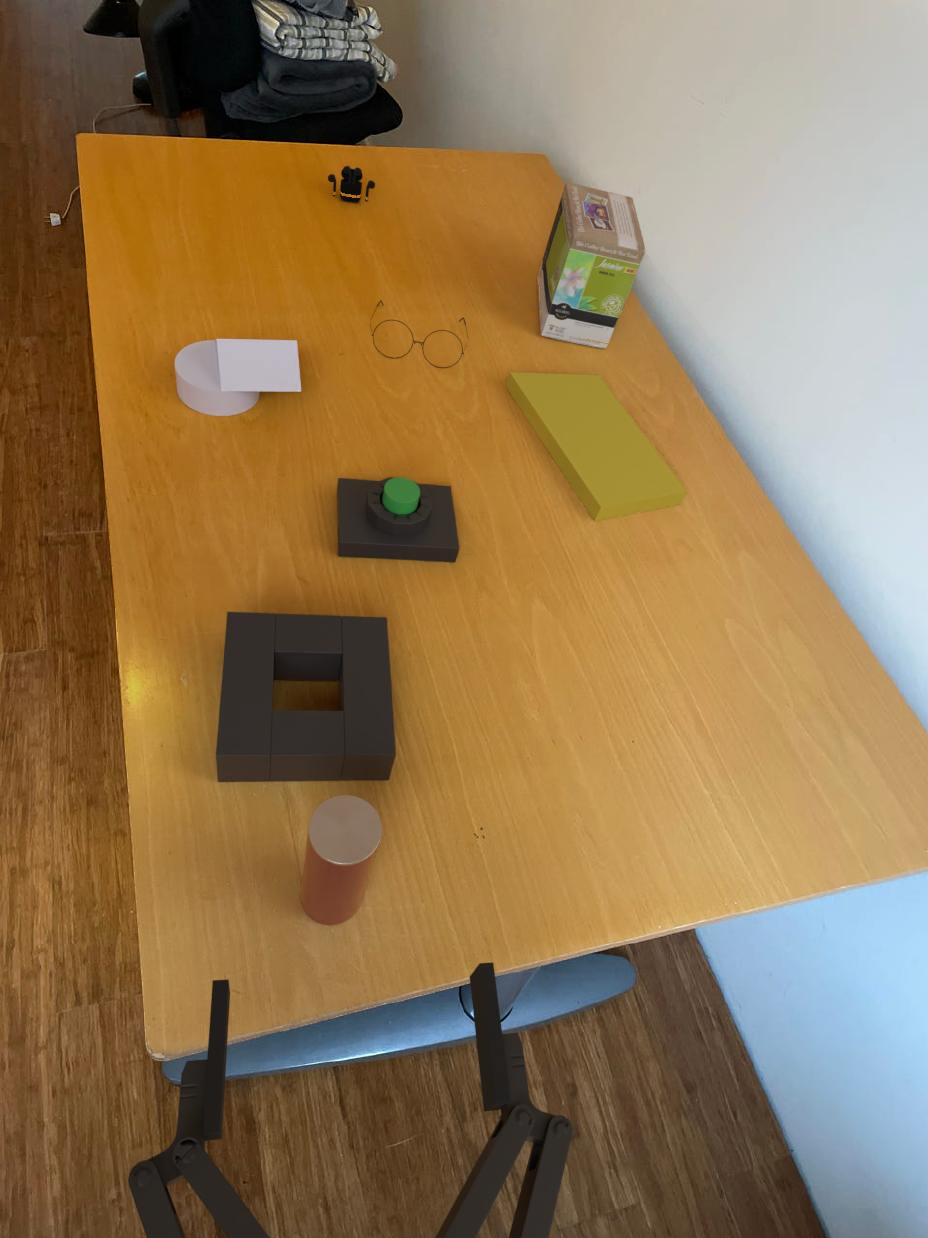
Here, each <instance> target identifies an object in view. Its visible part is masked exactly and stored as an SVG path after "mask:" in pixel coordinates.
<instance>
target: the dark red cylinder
mask: <svg viewBox="0 0 928 1238" xmlns="http://www.w3.org/2000/svg"><path fill="white" fill-rule="evenodd" d="M382 832H383V825H382V820H381V818H380V816H379V814H378V812H377V809H375V808H374V806H373V805H372V804H371V803H369V802H368V801H367V800H365V799H363V798H361V797H359V796H356V795H351V794H341V795H340V794H339V795H335V796H332V797H330V798H327V799H325V800H324V801H323V802H321V803H320V804H319V805H318V806H316V808H315V809H314V811H313V813H312V815H311V817H310V819H309V822H308V830H307V838H306V845H305V853H304V861H303V869H302V878H301V885H300V886H301V887H300V894H299V895H300V896H299V897H300V904H301V906H302V908H303V910H304V912H305V914H306V915H307V916H308V917H309V919H311V920H313V921H315V922H316V923H318V924H321V925H325V926H336V925H341V924H343V923H345V922H347V921H349V920H351V918H352V917H353V916H355V915H356V913H357V912H358V911H359V909H360V907H361V904H362V902H363V898H364V894H365V891H366V889H367V885H368V881H369V879H370V875H371V871H372V868H373V865H374V862H375V858H376V855H377V852H378V849H379V845H380V842H381V838H382Z"/></svg>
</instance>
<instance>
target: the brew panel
mask: <svg viewBox="0 0 928 1238" xmlns="http://www.w3.org/2000/svg"><path fill="white" fill-rule="evenodd" d="M392 478H396V477H393V476H389V477H386V478H384V479H383V478H382V479H380V480H373V479H361V478H359V479H358V478H346V477H345V478H344V477H338V478H337V485H336V492H335V493H336V494H335V495H336V531H337V532H336V533H337V557H339V558H356V559H357V558H359V559H377V560H379V559H380V560H400V561H417V562H418V561H420V562H437V563H439V562H440V563H456V562H457V559H458V555H459V552H460V543H459V542H460V541H459V534H458V528H457V527H458V526H457V521H456V513H455V506H454V505H455V504H454V499H453V498H454V497H453V492H452V485H443V484H429V483H419V482H416V481H414V480H412V481H413V482H415V483H416V484H417V485H418V487H419V489H420V496H419V501H418V506H417V508H416V510H415V511H414V512H412V513H410V514H407V515H397V514H394V513H392V512H390V511H388V510H387V509H386V508H385V507H384V505H383V503H382V497H383V492H384V486H385V484H386V482H387V481H388V480H390V479H392Z"/></svg>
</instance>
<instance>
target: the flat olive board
mask: <svg viewBox="0 0 928 1238" xmlns="http://www.w3.org/2000/svg"><path fill="white" fill-rule="evenodd" d="M504 387H505V388H506V390H507V391H508V393H509V394H510V396H511V397H512V399H513V400H514V402H515V403H516V405H517V406H518V408H519V409H520V411H521V412H522V414H523V415H524V417H525V418H526V420H527V421H528V423H529V424H530V426H531V428H532V429H533V430H534V432H535V433H536V435H537V436H538V438H539V440H540V441H541V443H542V444H543V446H544V447H545V448H546V450H547V452H548V453H549V455H550V456H551V457H552V459H553V461H554V462H555V463H556V465H557V467H558V468H559V470H560V471H561V473H562V474H563V476H564V477H565V479H566V480H567V482H568V483H569V485H570V486H571V488H572V489H573V491H574V492H575V494H576V495H577V497H578V498H579V500H580V501H581V503H582V505H583V506H584V507H585V509H586V511H587V512H588V514H589V515H590V516H591V518H592V520H593V521H594V522H597V521H598V522H599V521H602V520H607V519H608V520H609V519H612V518H618V517H622V516H623V517H624V516H629V515H635V514H640V513H644V512H649V511H655V510H661V509H665V508H671V507H675V506H681V504H682V503H683V502H684V499H685V497H686V496H687V494H688V489H687V488H686V487H685V485H684V484H683V482H682V481H681V480H680V479H679V477H678V476H677V475H676V474H675V472H674V471H673V469H672V468H671V466H669V464H668V463H667V462H666V461H665V459H664V458H663V457H662V455H661V454H660V453H659V451H658V450H657V449H656V447H655V446H654V444H653V443H652V442H651V441H650V439H649V438H648V437H647V436H646V434H645V433H644V431H643V430H642V428H641V427H640V426H639V425H638V424H637V423H636V421H635V419H634V418H633V417H632V416H631V415H630V413H629V411H627V409H626V407H624V406H623V403H621V402H620V400H619V399H618V397H617V396H616V395H615V393H614V392H613V391H612V390H611V388H610V387H609V386H608V384H607V383H606V382H605V381H604V379H603V378H602V376H601V375H600V374H571V373H568V374H567V373H543V372H515V371H509V373H508V376H507V379H506V382H505V386H504Z"/></svg>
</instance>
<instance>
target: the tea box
mask: <svg viewBox="0 0 928 1238" xmlns="http://www.w3.org/2000/svg"><path fill="white" fill-rule="evenodd" d="M558 203H559V204H558V206H557V207H558V208H557V211H556V214H555V217H554V221H553V224H552V227H551V230H550V234H549V237H548V241H547V244H546V247H545V251H544V254H543V256H542V257H543V258H542V260H541V263H540V266H539V270H538V274H539V285H538V276H537V277H536V286H537V299H538V314H539V316H538V317H539V328H540V336H542V337H545V338H550V339H553V340H558V341H564V342H568V343H573V344H578V345H584V346H589V347H593V348H598V349H599V348H600V349H606V348H607V347H608V346H609V344H610V341H611V339H612V337H613V334H614V331H615V328H616V326H617V323H618V321H619V319H620V316H621V313H622V311H623V309H624V306H625V303H626V301H627V298H628V297H629V294H630V291H631V289H632V286H633V283H634V281H635V278H636V276H637V274H638V272H639V269H640V267H641V264H642V262H643V259H644V256H645V253H646V246H645V242H644V237H643V234H642V229H641V226H640V222H639V218H638V214H637V210H636V207H635V204H634V198H633V197H631V196H628V195H623V194H619V193H615V192H612V191H607V190H603V189H598V188H593V187H588V186H585V185H581V184H576V183H571V182H565V185H564V187H563V191H562V194H561V197H560V200H559V202H558ZM539 286H540V302H539ZM540 310H541V317H540ZM541 327H542V329H541ZM546 332H547V333H546ZM557 334H558V335H557ZM579 338H580V339H579ZM583 339H585V340H583ZM586 339H589V340H591V341H589V340H586ZM592 340H594V341H598V342H594V341H592ZM599 341H600V342H604V343H608V344H604V343H599Z"/></svg>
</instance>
